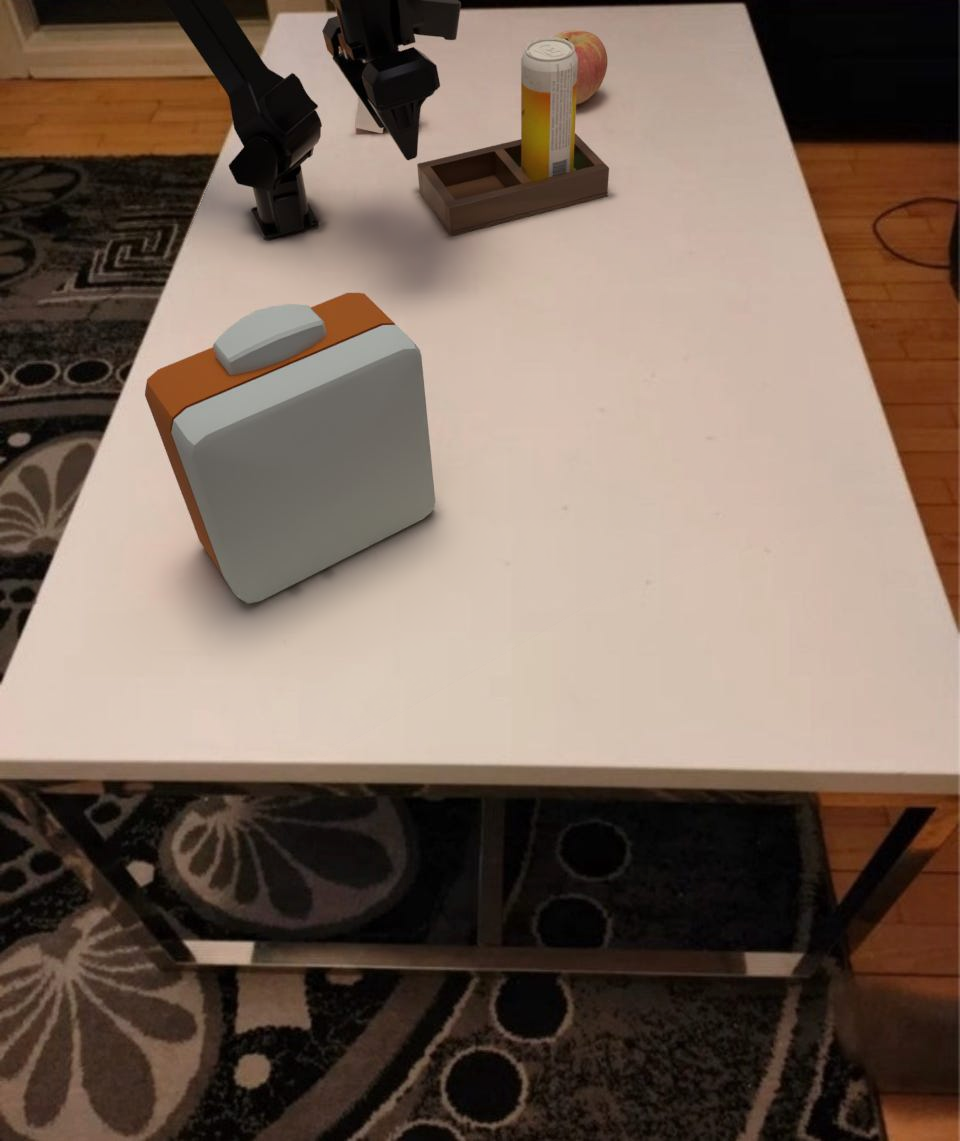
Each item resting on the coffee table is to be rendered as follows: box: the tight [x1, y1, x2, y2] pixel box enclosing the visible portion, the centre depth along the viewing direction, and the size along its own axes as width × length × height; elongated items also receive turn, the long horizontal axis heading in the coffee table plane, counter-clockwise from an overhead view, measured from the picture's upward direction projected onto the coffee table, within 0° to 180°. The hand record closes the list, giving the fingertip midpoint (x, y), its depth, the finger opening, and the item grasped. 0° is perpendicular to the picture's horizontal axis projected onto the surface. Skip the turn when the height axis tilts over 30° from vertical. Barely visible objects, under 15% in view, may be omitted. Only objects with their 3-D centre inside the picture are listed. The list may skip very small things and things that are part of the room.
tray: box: [416, 132, 610, 236], centre depth 117 cm, size 10×20×4 cm, turn 112°
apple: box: [551, 29, 608, 106], centre depth 130 cm, size 9×9×8 cm
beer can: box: [520, 36, 578, 182], centre depth 113 cm, size 6×6×15 cm
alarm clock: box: [144, 292, 436, 604], centre depth 78 cm, size 18×9×21 cm, turn 124°
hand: (397, 142), depth 102 cm, fingers open, 9 cm apart
